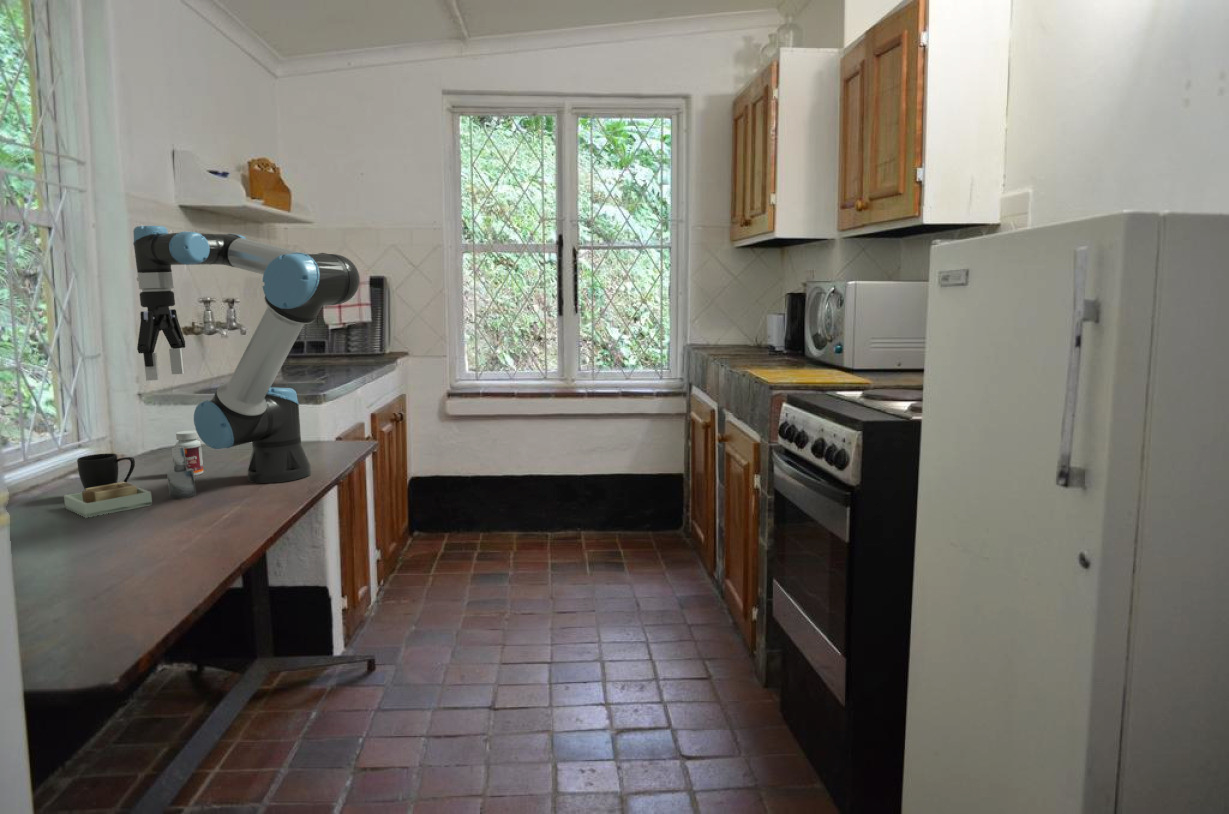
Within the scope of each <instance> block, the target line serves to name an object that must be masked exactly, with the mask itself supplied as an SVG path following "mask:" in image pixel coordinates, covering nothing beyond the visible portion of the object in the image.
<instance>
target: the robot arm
mask: <svg viewBox="0 0 1229 814" xmlns="http://www.w3.org/2000/svg"><path fill="white" fill-rule="evenodd" d="M132 231H133V242H132V244H133V248H134V257H135V265H136V271H137V273H136V274H137V277H136V281H137V282H138V289H139V290H141V291H140V292H139V303H140V306H141V307H142V308H146V309H147V310H146V311H142V310H141V311H140V315H139V316H140V322H139V323H140V324H139V325H140V326H139V331H138V332H139V333H138V339H137V340H138V341H137V348H136V349H137V352H138V354H142V355H143V362H144V363H143V364H144V374H145V381H160V376H159V374H160V373H159V367H158V366H159V365H158V358H157V357H158V356H157V352H155V348H156V345H157V341H158V338H159V334H160V332H161V331H162V332H163V334H164V337H165V338H166V340H167V343H168V344H169V347H170V348H169V349H168V353H169V360H170V361H169V362H170V369H171V375H184V374H185V372H184V364H183V361H184V360H183V352H182V350H183V349H184V348H186V341H185V338H184V337H185V336H184V335H183V331H182V329H181V326H180V323H179V319H178V314H177V310H176V309H174V308H173V309H170V307H174V306H175V305H176V300H175V299H176V298H175V292H173V291H172V289H174V282H173V281H174V280H173V272H172V270H173V269H172V266H178V265H186V266H187V265H188V266H190V265H191V266H192V265H194V266H195V265H203V266H204V265H209V266H210V265H223V266H228V267H231V268H237V269H241V270H245V271H248V272H252V273H255V274H260V275H263V276H262V283H264V285H263V286H262V291H263V294H264V302H265V304H266V306H267V307H266V309H265V310H264V313H263V315H262V317H261V319H260V320H259V323H258V325H257V326H256V329H255V330H254V333H252V334H253V335H252V337H251V338H250V340H249V343H248V344H247V346H246V347H245V349H244V352H243V353H242V355H241V358H240V360H239V362H238V363H237V366H236V368H235V369H234V371H233V374H232V375H231V377H230V379H229V381H226V382H224V383H221V384H220V385H219V386H218V387H217V389H216V391H215V392H214V395H213V397H212V398H211V399H210V400H203V401H201V402H199V403H198V405H196V407H195V409H194V413H193V424H194V427H195V431H197V433H198V438H200V440H201V442H203V444H205V446H207V447H209V448H211V449H215V450H222V449H230V448H233V447H237V446H241V445H246V444H249V443H251V445H252V451H251V454H250V459H249V463H248V467H247V471H246V472H247V481H248V482H251V483H258V484H259V483H260V484H261V483H262V484H271V483H273V484H275V483H281V482H282V483H283V482H290V481H295V480H301V479H303V478H306V477H309V476H311V474H312V471H311V470H312V468H311V463H310V461H309V459H308V456H307V455H306V451H305V450H304V448H303V444H302V438H301V437H302V435H301V421H300V408H299V407H300V406H299V405H300V402H299V400H298V395H297V392H296V390H295V389H293V388H292V387H272V385H273V383H274V381H275V380H276V378H277V376H278V374H279V372H280V370H281V368H282V367H283V364H284V363H285V361H286V360H287V357H288V356H289V353H290V352H291V350H292V348H293V346H294V344H295V342H297V339H298V337H299V335H300V333H301V332H302V329H303V328H304V325H308V324H312V323H313V322H315V320H316V318H317V317H318V315H319V313H320V311H321V309H322V307H324V306H325V307H327V306H338V305H342V304H345V303H347V302H349V301H350V300H351V299H352V298H353V297H354V296H355V295H356V294H357V292H358V290H359V287H360V272H359V271H358V268H357V266H356V265H355V264H354V262H353V261H351V260H350V258H348V257H346V256H344V255H341V254H336V253H326V252H317V253H306V252H302V251H297V250H295V249H294V250H293V249H289V248H287V247H281V246H277V245H273V244H269V243H265V242H261V241H255V240H253V239H247V238H246V236H243V235H241V234H235V233H201V232H196V231H180V232H171V233H169V231H168V228H167V227H166V226H163V225H137V226H135V227H134V228H133V230H132Z"/></svg>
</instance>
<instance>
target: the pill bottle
mask: <svg viewBox="0 0 1229 814" xmlns="http://www.w3.org/2000/svg"><path fill="white" fill-rule="evenodd" d="M175 434H176V435H175V436H176V440H177V442H176V443H175V445H174V446H175V447H184V451H185V460H186V468H192V469H194V477H197V476H199V475H202V474H203V473H204V462H203V451H202V443H201V441H200V440H197V439H198V438H199V435H198V433H197V431H196V429H195V430H194V429H193V430H183V431H182V430H181V431H176V433H175Z"/></svg>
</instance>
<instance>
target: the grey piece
mask: <svg viewBox="0 0 1229 814" xmlns="http://www.w3.org/2000/svg"><path fill="white" fill-rule="evenodd" d="M171 453H172V454H171V455H172V462H173V469H171V470H168V471H166V473H167V476H166V477H167V484H168V494H169V499H175V500H177V499H179V500H180V499H185V498H186V499H187V498H192V497H194V496H196V495H197V489H196V481H195V476H194V469H192V468H186V460H185V451H184V447H172V448H171Z"/></svg>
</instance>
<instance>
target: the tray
mask: <svg viewBox="0 0 1229 814" xmlns="http://www.w3.org/2000/svg"><path fill="white" fill-rule="evenodd" d="M136 487H137V494H134V495H128V496H123V497H118V498H112V499H107V500H102V501H96V502H91V503H85V502H83V497H82V492H83V491H81V492H76V493H70V494H65V495H63V500H64V507H65V509H66V510H68V511H70V510H71V511H70V512H72V511H73V513H74V512H75V513H74V514H76V513H77V515H78V514H79V515H78V516H80V515H81V517H82V516H83V517H82V518H84V517H85V519H88V517H89V518H92V517H93V516H94V517H98V516H97V515H99V516H104V515H109V514H113V513H119V512H123V511H128V510H133V509H138V508H143V507H148V506H153V498H152V491H149V490H147V489H144V488H142V487H138V486H136ZM108 513H109V514H108ZM103 514H104V515H103ZM94 517H93V518H94Z"/></svg>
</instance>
